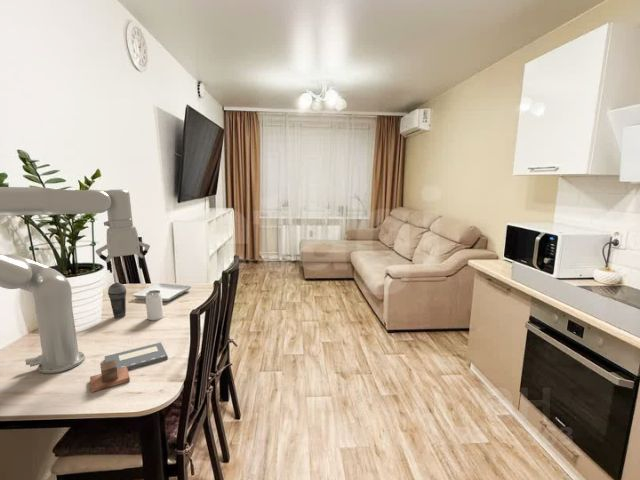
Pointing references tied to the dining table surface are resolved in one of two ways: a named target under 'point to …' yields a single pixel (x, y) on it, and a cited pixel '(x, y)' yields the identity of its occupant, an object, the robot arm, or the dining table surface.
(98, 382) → the wooden t-shaped block
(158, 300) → the can
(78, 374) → the dining table surface
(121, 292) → the beverage cup
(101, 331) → the dining table surface
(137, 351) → the board
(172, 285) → the salad plate
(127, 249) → the robot arm
